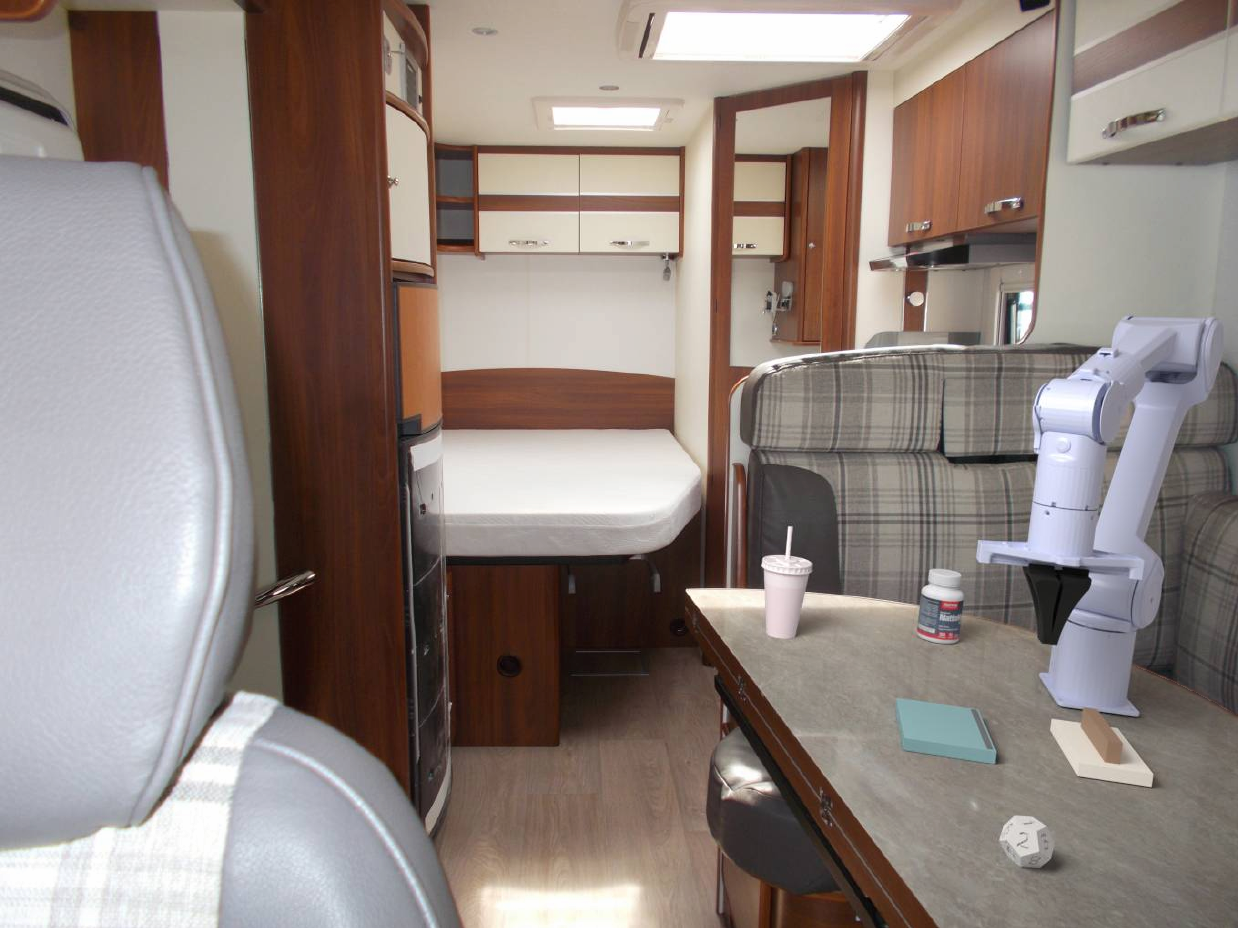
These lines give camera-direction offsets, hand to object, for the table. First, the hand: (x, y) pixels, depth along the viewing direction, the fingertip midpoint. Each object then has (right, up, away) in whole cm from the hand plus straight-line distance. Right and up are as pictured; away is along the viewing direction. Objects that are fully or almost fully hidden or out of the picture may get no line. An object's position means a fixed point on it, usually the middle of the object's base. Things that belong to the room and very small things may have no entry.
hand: (1047, 641), depth 87 cm
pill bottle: (0, -6, +30) cm, 30 cm away
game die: (-12, -12, -22) cm, 27 cm away
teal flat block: (-11, -9, -1) cm, 14 cm away
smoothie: (-21, -5, +27) cm, 35 cm away
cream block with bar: (+3, -10, -4) cm, 11 cm away
